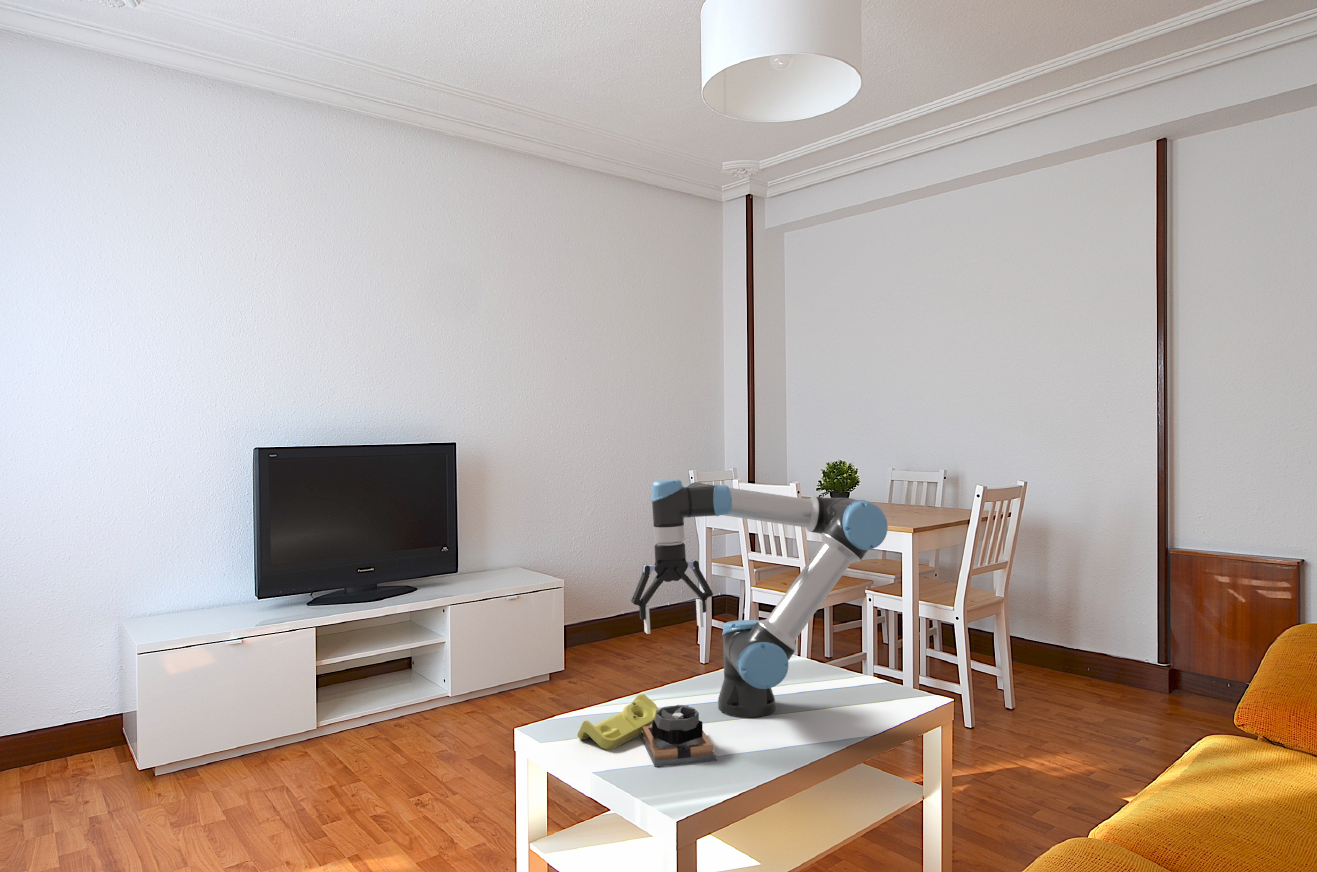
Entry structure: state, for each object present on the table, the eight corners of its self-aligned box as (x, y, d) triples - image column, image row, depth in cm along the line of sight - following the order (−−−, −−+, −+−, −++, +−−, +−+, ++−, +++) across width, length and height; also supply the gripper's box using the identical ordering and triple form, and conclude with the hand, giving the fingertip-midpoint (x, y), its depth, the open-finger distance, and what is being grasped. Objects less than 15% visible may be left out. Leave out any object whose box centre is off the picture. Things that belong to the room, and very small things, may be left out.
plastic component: (609, 743, 184) (581, 716, 190) (601, 767, 186) (574, 740, 192) (666, 713, 198) (638, 689, 204) (658, 736, 201) (631, 711, 207)
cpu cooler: (673, 722, 178) (645, 711, 186) (674, 748, 178) (646, 735, 186) (708, 711, 184) (680, 701, 192) (708, 736, 184) (680, 724, 192)
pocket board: (696, 731, 196) (696, 719, 196) (716, 760, 178) (715, 746, 178) (640, 736, 193) (640, 724, 193) (654, 766, 175) (654, 753, 175)
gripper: (712, 536, 203) (716, 620, 203) (616, 545, 196) (621, 631, 196) (722, 540, 196) (727, 626, 196) (623, 549, 189) (628, 638, 189)
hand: (674, 629), depth 196 cm, fingers open, 13 cm apart
